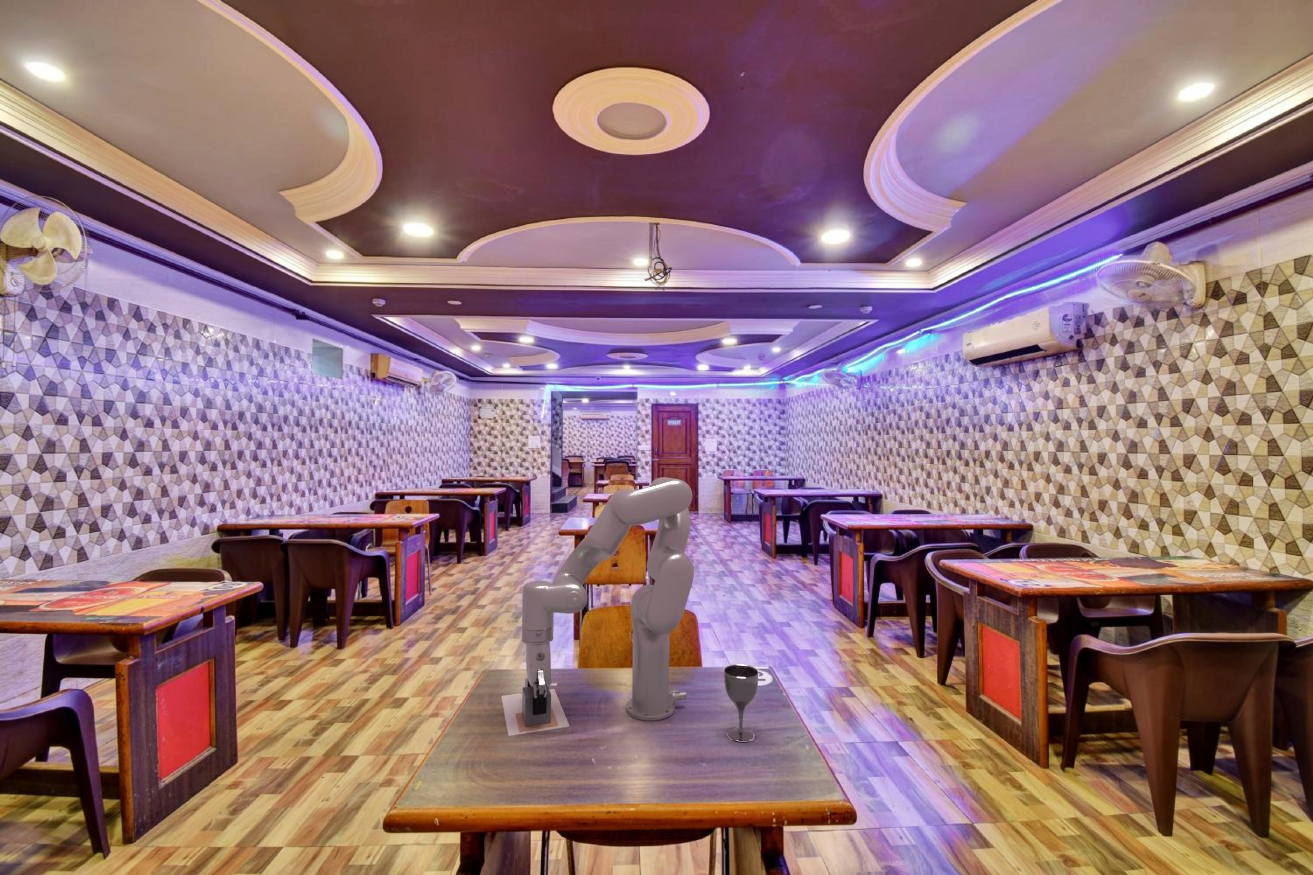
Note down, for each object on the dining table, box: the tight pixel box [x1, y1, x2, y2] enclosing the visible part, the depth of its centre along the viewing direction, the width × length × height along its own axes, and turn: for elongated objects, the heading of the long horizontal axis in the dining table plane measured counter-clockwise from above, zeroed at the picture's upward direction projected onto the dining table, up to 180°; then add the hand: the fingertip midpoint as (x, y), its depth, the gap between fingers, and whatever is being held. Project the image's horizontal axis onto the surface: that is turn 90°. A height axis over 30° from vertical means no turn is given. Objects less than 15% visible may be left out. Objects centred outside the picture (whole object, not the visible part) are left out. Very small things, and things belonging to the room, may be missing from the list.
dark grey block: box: [521, 684, 551, 727], centre depth 134 cm, size 6×6×7 cm
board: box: [501, 688, 570, 737], centre depth 139 cm, size 14×22×2 cm, turn 20°
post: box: [524, 677, 529, 687], centre depth 145 cm, size 3×3×6 cm
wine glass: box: [723, 663, 759, 742], centre depth 131 cm, size 8×8×15 cm
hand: (536, 704), depth 134 cm, fingers open, 9 cm apart
